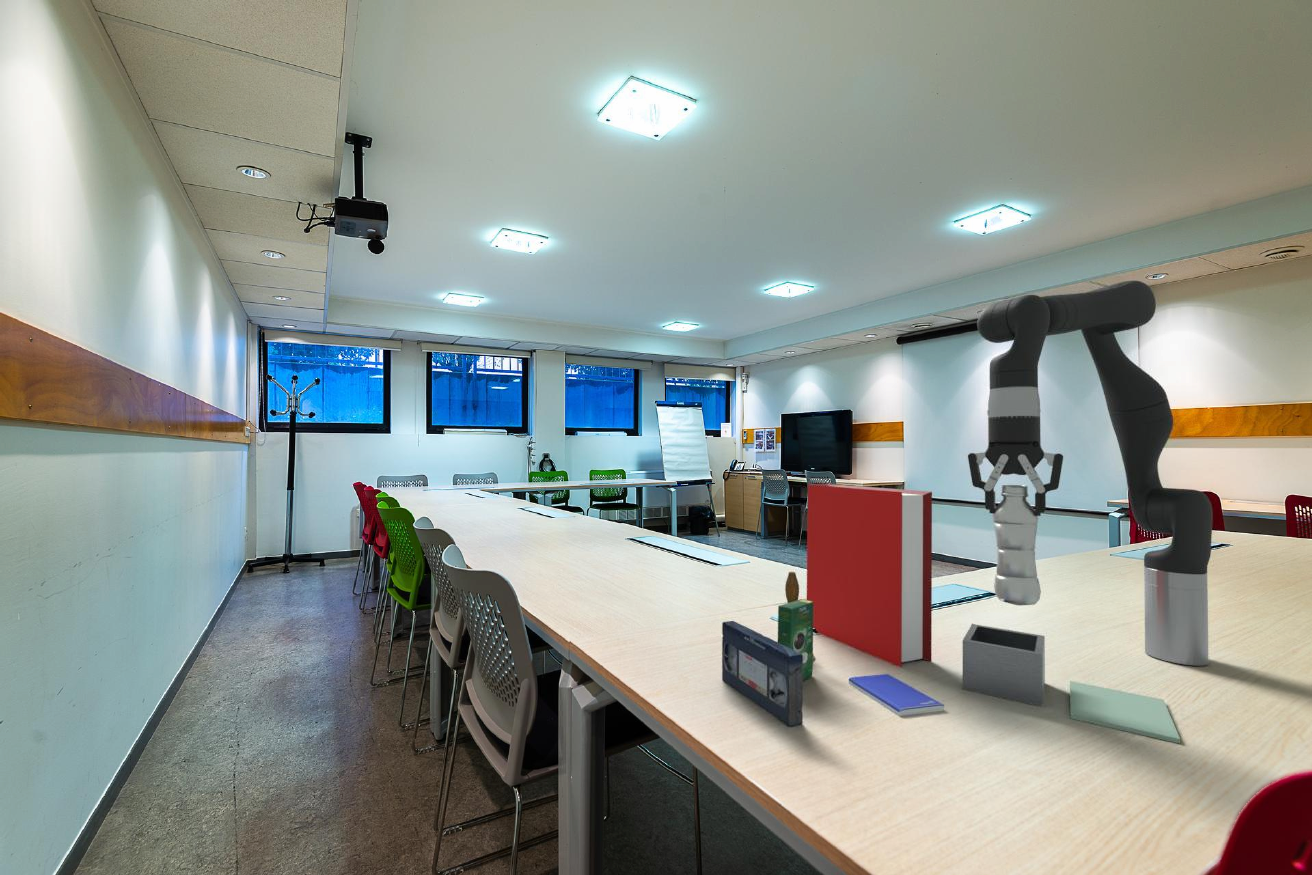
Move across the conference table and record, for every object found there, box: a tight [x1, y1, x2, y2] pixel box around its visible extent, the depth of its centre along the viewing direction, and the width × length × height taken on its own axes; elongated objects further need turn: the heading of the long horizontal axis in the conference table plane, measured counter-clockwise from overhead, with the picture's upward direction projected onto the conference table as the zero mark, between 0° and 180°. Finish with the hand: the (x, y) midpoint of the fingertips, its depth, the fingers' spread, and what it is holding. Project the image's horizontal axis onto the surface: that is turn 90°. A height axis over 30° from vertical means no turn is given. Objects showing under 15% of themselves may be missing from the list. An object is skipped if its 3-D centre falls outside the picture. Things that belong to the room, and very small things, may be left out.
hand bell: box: [784, 571, 816, 661], centre depth 109 cm, size 8×8×16 cm
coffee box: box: [777, 598, 814, 681], centre depth 97 cm, size 8×3×13 cm, turn 137°
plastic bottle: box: [991, 484, 1042, 607], centre depth 96 cm, size 6×7×20 cm
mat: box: [1069, 680, 1181, 744], centre depth 87 cm, size 16×12×1 cm
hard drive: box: [848, 673, 945, 717], centre depth 91 cm, size 2×8×12 cm
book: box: [806, 483, 933, 668], centre depth 118 cm, size 27×8×32 cm, turn 25°
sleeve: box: [962, 623, 1046, 708], centre depth 96 cm, size 12×11×8 cm
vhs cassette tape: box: [721, 620, 804, 728], centre depth 88 cm, size 18×3×10 cm, turn 23°
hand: (1014, 513), depth 96 cm, fingers closed on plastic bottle, 6 cm apart
